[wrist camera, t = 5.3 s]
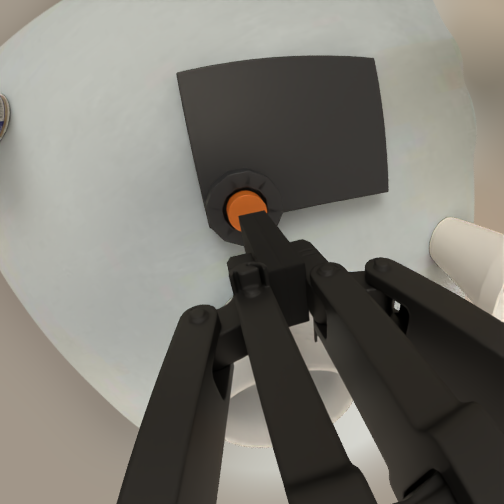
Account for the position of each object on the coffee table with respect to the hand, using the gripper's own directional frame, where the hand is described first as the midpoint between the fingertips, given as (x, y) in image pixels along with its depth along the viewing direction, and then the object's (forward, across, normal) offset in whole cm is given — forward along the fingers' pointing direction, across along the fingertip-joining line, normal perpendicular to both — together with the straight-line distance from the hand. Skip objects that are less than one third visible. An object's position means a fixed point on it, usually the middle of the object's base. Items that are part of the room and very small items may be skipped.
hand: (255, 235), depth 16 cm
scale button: (+6, 0, 0) cm, 6 cm away
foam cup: (+9, +26, -10) cm, 29 cm away
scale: (+9, +6, +5) cm, 12 cm away
